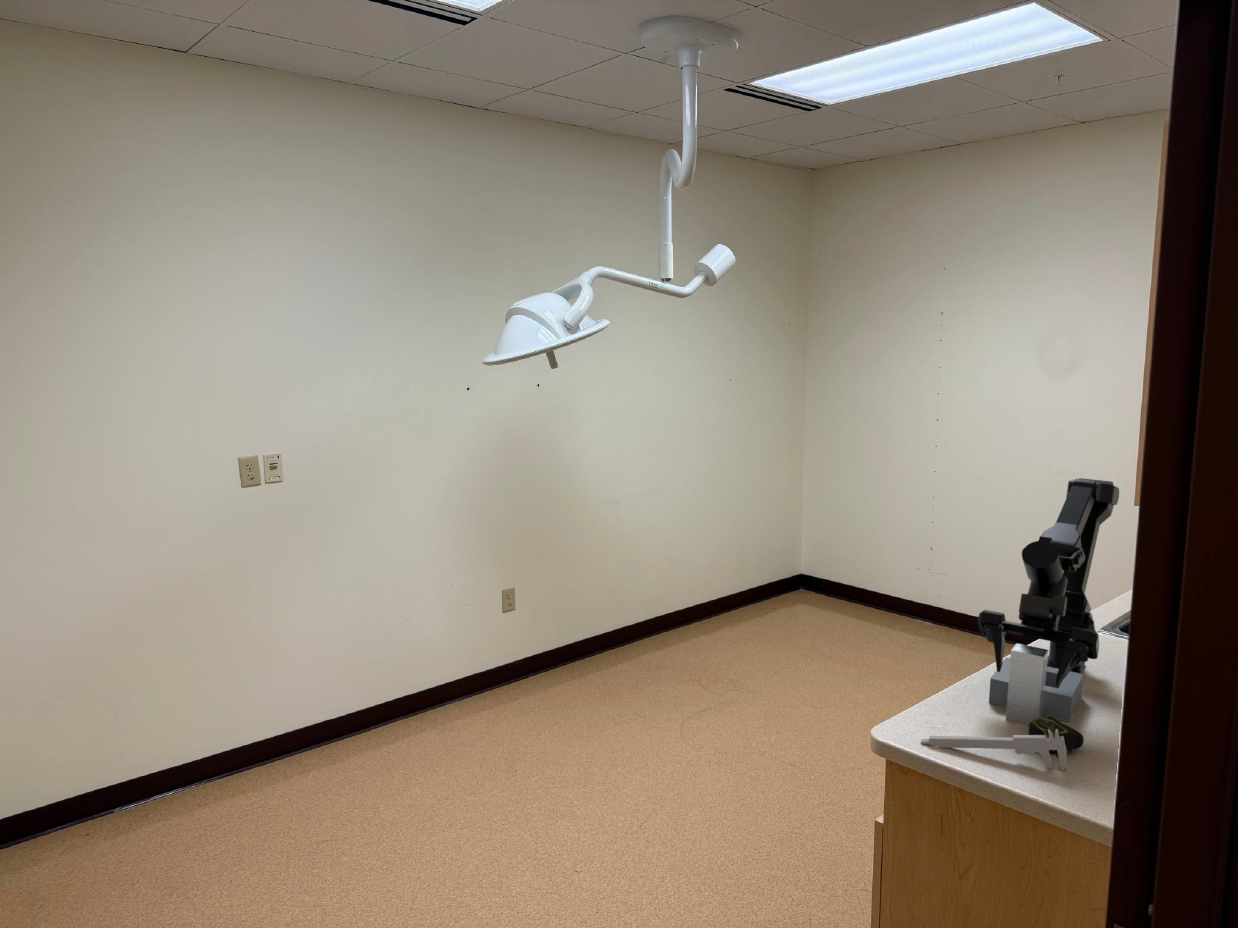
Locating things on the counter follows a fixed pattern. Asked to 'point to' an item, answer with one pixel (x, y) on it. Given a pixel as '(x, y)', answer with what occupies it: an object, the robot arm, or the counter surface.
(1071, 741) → the tape measure
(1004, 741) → the caliper
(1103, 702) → the counter surface
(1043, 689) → the light gray rectangular block
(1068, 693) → the block
